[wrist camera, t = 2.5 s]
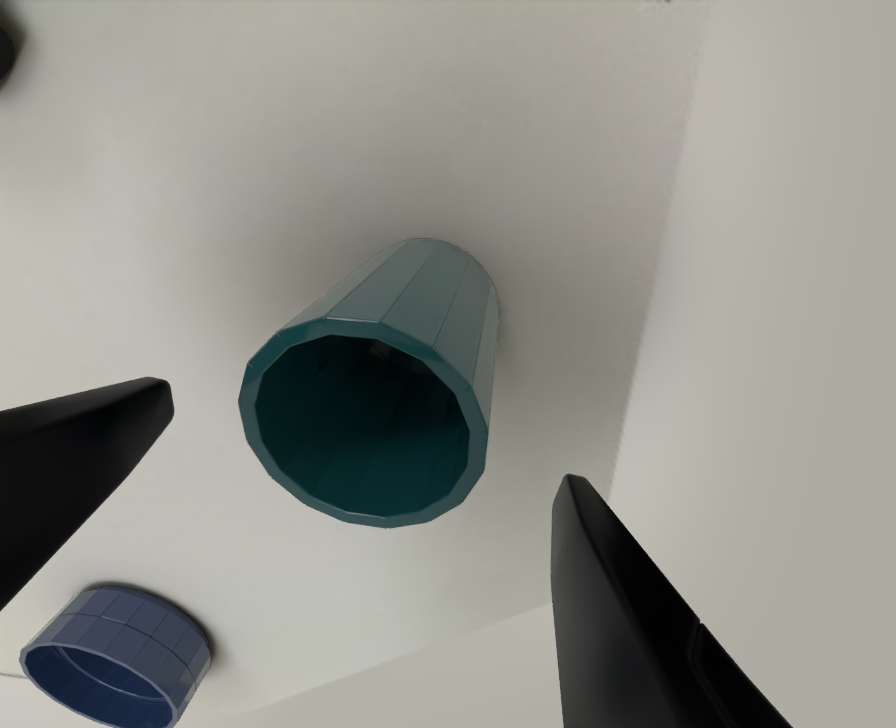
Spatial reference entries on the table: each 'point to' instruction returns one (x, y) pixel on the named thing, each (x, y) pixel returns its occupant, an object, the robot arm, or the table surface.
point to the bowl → (119, 658)
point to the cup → (381, 389)
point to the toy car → (5, 53)
